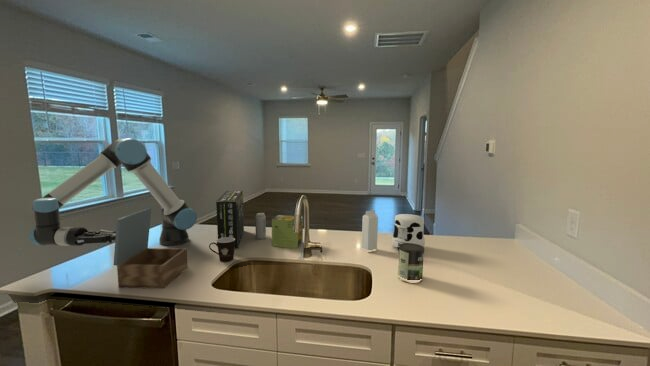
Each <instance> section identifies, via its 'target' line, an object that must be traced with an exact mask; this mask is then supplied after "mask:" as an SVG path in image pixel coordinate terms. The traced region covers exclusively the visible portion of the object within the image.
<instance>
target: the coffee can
mask: <svg viewBox="0 0 650 366" xmlns="http://www.w3.org/2000/svg"><path fill="white" fill-rule="evenodd" d="M424 256H425V246H424V247H423V246H421V245H418V244H413V243H403V244H400V245H399V249H398V272H397V276H398V275H399V276H400V277H402V278H404V279H407V280H420V279H423V274H424V273H423V271H424Z"/></svg>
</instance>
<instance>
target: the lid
mask: <svg viewBox="0 0 650 366" xmlns="http://www.w3.org/2000/svg"><path fill="white" fill-rule="evenodd" d="M151 215H152V208H151V207H147V208H145V209H142V210H139V211H136V212H133V213H130V214H128V215H125V216H122V217H120V218H117V219H116V224H115V225H116V227H115V231H116V238H115V241H114V253H113V266H116V267H117V265H118V264H120V263H122V262H124V261H125V260H127V259H129V258H131V257H132V256H134V255H136V254H138V253H139V252H141V251H143V250H145V249H146V248H149V238H150V237H149V236H150V226H151V225H150V224H151Z"/></svg>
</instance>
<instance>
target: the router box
mask: <svg viewBox="0 0 650 366" xmlns="http://www.w3.org/2000/svg"><path fill="white" fill-rule="evenodd" d="M243 192H244V191H243V190H226V191H225V192H224V193H222V195H221V196H220V197H218V198H217V200H216V201H215V205H216V225H217V226H216V227H217V229H216V230H217V240H218V239H220V238H224V237H232V238H235V247H234V250H235V249H240V248H239V247H240V244H241V240H242V238H243V234H244V231H245V226H244V224H245V223H244V222H245V221H244V220H245V219H244V197H243V196H244V194H243Z"/></svg>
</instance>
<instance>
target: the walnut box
mask: <svg viewBox="0 0 650 366" xmlns="http://www.w3.org/2000/svg"><path fill="white" fill-rule="evenodd" d="M188 260H189V259H188V248H187V247H185V248H181V247H178V248H177V247H176V248H175V247H171V248H170V247H148V248H146V249H145V250H143V251H141V252H139V253H138V254H136V255H134V256H132V257H131V258H129V259H127V260H125V261H124V262H122V263H120V264H118V265H117V266H116V271H117V283H118V284H117V286H118V288H121V289H122V288H129V289H130V288H131V289H132V288H136V289H165V288H167V287H168V286H169V285H170V284H171V283H172V282H174V281H175V279H177V278H178V277H179V276H181V274H182V273H184V272H185V271H186V270H187V269H189V263H188Z"/></svg>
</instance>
